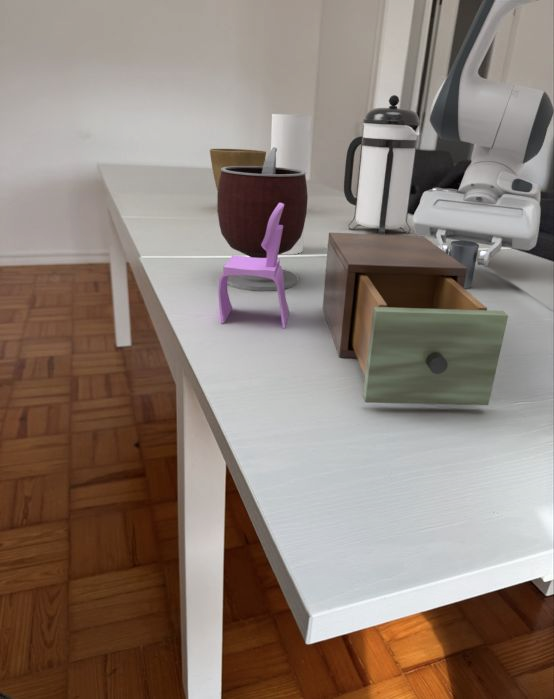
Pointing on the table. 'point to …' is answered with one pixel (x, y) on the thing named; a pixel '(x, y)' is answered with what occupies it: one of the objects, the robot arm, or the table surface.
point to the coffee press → (383, 167)
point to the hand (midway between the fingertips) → (461, 260)
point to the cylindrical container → (292, 149)
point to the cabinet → (375, 257)
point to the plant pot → (234, 159)
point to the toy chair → (258, 267)
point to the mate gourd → (261, 213)
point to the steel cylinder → (465, 257)
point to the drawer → (424, 340)
